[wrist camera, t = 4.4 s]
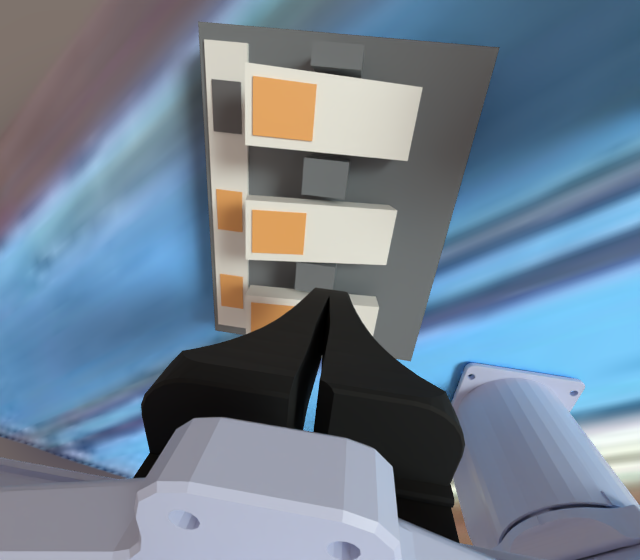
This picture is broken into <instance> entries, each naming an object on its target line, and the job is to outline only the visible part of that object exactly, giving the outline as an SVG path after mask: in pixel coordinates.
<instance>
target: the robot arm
mask: <svg viewBox="0 0 640 560" xmlns="http://www.w3.org/2000/svg"><path fill="white" fill-rule="evenodd" d="M321 357H322V371H321V377H320V383H319V391H318V399H317V408H316V416H315V424H314V432H309V431H304V430H303V428H304V422H305V417H306V411H307V407H308V403H309V399H310V396H311V392H312V389H313V385H314V382H315V378H316V375H317V371H318V368H319V364H320V361H321ZM470 374H473V375H472V376H468V375H470ZM584 388H585V385H584V383H583V382H582V381H581V380H579V379H574V378H568V377H562V376H555V375H549V374H542V373H536V372H529V371H523V370H517V369H510V368H504V367H497V366H491V365H485V364H478V363H469V364H467V365H466V366H465V368H464V371H463V373H462V376H461V379H460V381H459V384H458V386H457V389H456V392H455V394H454V397H453V400H452V402H450V400H449V398H448V396H447V394H446V392H445V391H443V390H442V389H440V388H438V387H436V386H435V385H433V384H431V383H430V382H428V381H426V380H424V379H423V378H421V377H419V376H418V375H416V374H415V373H414V372H412V371H411V370H409V369H408V368H406V367H405V366H404V365H402V364H401V363H400V362H399V361H397V360H396V359H395V358H394V357H393V356H392V355H390V354H389V353H388V352H387V351H386V350H385V349H384V348H383V347H382V346H381V345H380V344H379V343H378V342H377V341H376V340H375V339H374V337H373V336H372V335H371V334H370V332H369V331H368V330H367V328H366V327H365V325H364V324H363V322H362V321H361V319H360V317H359V315H358V314H357V312H356V310H355V308H354V306H353V304H352V302H351V299H350V296H349V294H348V293H347V292H345V291H338V290H331V289H323V288H314V289H313V290H312V291H311V292H310V293H309V294H308V295H307V296H306V297H305V298H303V299H302V300H301V301H300V302H299V303H298V304H297V305H295V306H294V307H293V308H292V309H291V310H289V311H288V312H286V313H285V314H284V315H282V316H281V317H279V318H278V319H276V320H275V321H273V322H271V323H269V324H268V325H266V326H264V327H262V328H260V329H257V330H255V331H253V332H250V333H248V334H246V335H243V336H240V337H238V338H235V339H232V340H228V341H225V342H222V343H218V344H214V345H210V346H205V347H200V348H196V349H191V350H185V351H182V352H181V353H180V354H179V355H178V356H177V357H176V358H175V359H174V360H173V361H172V362H171V363H170V364H169V366H168V367H167V368H166V369H165V370H164V372H163V373H162V374H161V375H160V376H159V378H158V379H157V380H156V381H155V382H154V384H153V385H152V386H151V387H150V389H149V390H148V391H147V392H146V393H145V395H144V398H143V401H142V404H141V408H142V418H143V423H144V427H145V432H146V436H147V441H148V446H149V450H150V453H149V455H148V456H147V458H146V460H145V461H144V463H143V464H142V466H141V467H140V469H139V470H138V472H137V473H136V475H135V476H134V478H131V479H113V478H108V477H103V476H97V475H91V474H86V473H81V472H76V471H70V470H65V469H60V468H54V467H49V466H43V465H38V464H33V463H27V462H22V461H17V460H11V459H6V458H1V457H0V560H640V505H639V504H638V503H637V501H636V500H635V499H634V497H633V496H632V495H631V493H630V492H629V491H628V489H627V488H626V487H625V485H624V484H623V483H622V481H621V480H620V479H619V477H618V476H617V475H616V474H615V472H614V471H613V470H612V468H611V467H610V466H609V464H608V463H607V462H606V460H605V459H604V458H603V456H602V455H601V454H600V452H599V451H598V450H597V448H596V447H595V446H594V444H593V443H592V442H591V440H590V439H589V438H588V436H587V435H586V434H585V432H584V431H583V430H582V428H581V427H580V426H579V424H578V423H577V422H576V421H575V419H574V418H573V417H572V415H571V414H570V411H571V410H572V408H573V406H574V405H575V403H576V401H577V400H578V398H579V397H580V395H581V393H582V392H583V390H584ZM571 391H572V392H571ZM452 479H453V480H454V483H455V487H456V491H457V495H458V498H459V502H460V506H461V510H462V513H463V517H464V521H465V525H466V528H467V531H468V534H469V537H470V539H471V541H472V543H473V545H474V546H471V545H466V544H461V543H459V539H458V535H457V531H456V527H455V522H454V518H453V514H452V510H451V507H452V508H453V506H454V496H453V492H452V488H451V485H450V483H451V481H452Z"/></svg>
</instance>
